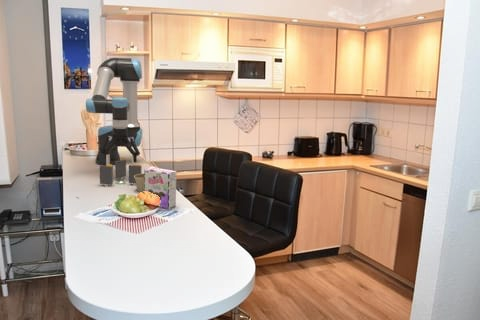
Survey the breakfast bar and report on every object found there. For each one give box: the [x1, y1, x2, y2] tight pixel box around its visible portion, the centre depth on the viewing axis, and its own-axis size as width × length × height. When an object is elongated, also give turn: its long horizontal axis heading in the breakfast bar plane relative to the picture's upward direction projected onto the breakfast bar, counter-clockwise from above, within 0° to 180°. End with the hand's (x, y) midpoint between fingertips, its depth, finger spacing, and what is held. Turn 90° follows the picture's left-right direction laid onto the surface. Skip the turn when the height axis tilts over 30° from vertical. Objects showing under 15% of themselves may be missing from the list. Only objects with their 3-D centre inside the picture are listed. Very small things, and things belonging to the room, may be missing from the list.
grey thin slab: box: [128, 163, 143, 186], centre depth 208 cm, size 2×6×11 cm, turn 86°
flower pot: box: [134, 173, 144, 193], centre depth 200 cm, size 9×9×9 cm
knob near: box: [114, 157, 127, 180], centre depth 217 cm, size 2×6×11 cm, turn 155°
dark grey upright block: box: [99, 164, 114, 187], centre depth 204 cm, size 2×6×11 cm, turn 86°
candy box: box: [143, 166, 177, 210], centre depth 183 cm, size 14×6×16 cm, turn 62°
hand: (120, 167), depth 217 cm, fingers open, 13 cm apart
